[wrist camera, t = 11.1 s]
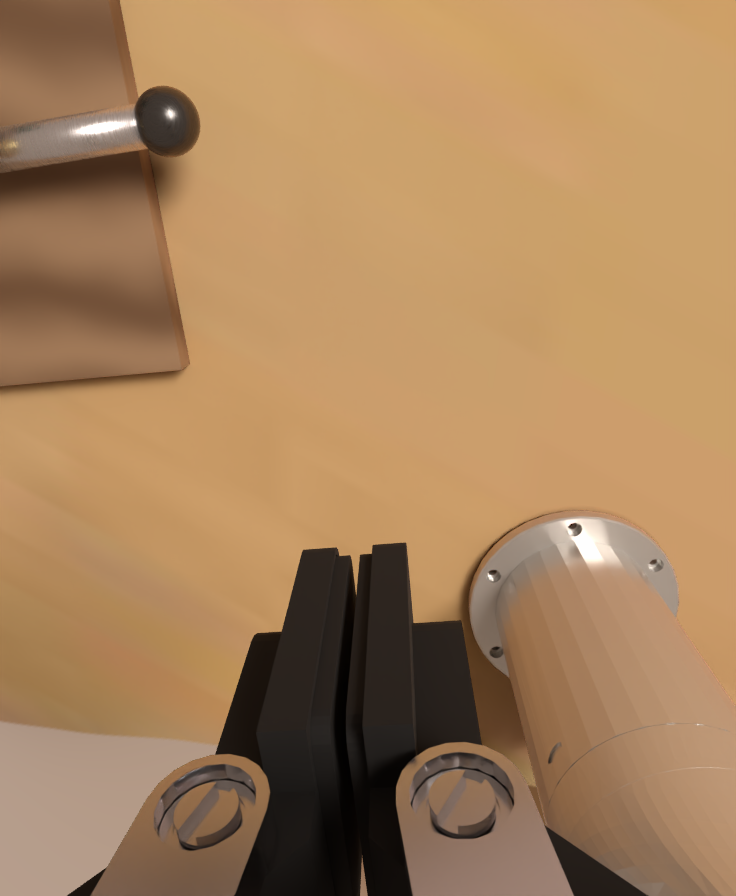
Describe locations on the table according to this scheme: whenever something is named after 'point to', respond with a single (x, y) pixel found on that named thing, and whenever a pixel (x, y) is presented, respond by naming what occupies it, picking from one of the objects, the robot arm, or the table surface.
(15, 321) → the stand
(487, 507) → the table surface
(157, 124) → the lever
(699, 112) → the table surface
